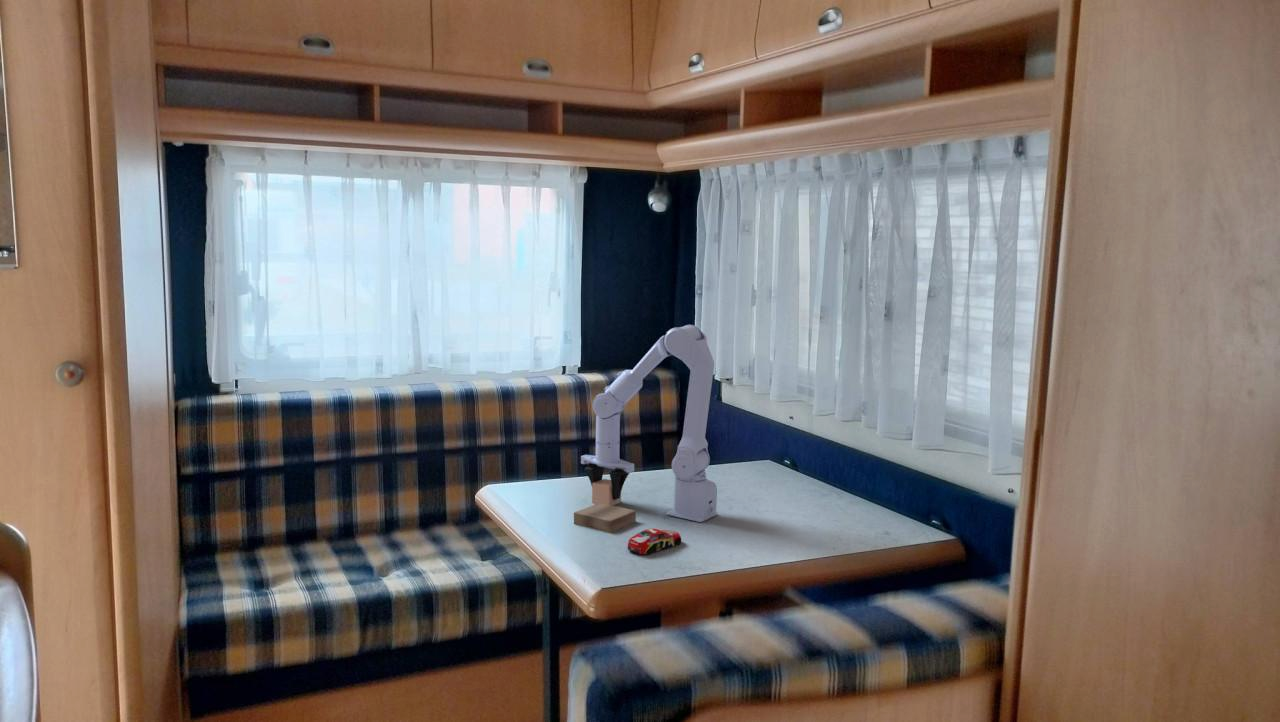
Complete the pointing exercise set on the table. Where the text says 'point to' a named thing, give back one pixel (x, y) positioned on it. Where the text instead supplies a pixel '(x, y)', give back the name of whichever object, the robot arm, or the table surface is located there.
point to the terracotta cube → (603, 493)
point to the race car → (653, 541)
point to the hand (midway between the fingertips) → (606, 496)
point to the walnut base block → (604, 517)
